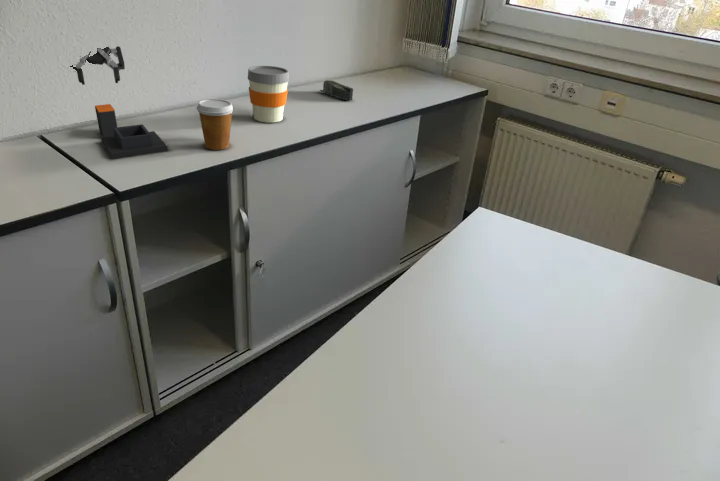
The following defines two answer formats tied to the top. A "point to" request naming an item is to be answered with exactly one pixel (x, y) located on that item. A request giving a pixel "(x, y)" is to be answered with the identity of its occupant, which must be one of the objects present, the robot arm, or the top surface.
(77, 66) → the robot arm
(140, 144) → the base pad
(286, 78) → the reusable coffee cup
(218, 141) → the disposable coffee cup
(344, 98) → the dark grey block piece
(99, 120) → the pad block
